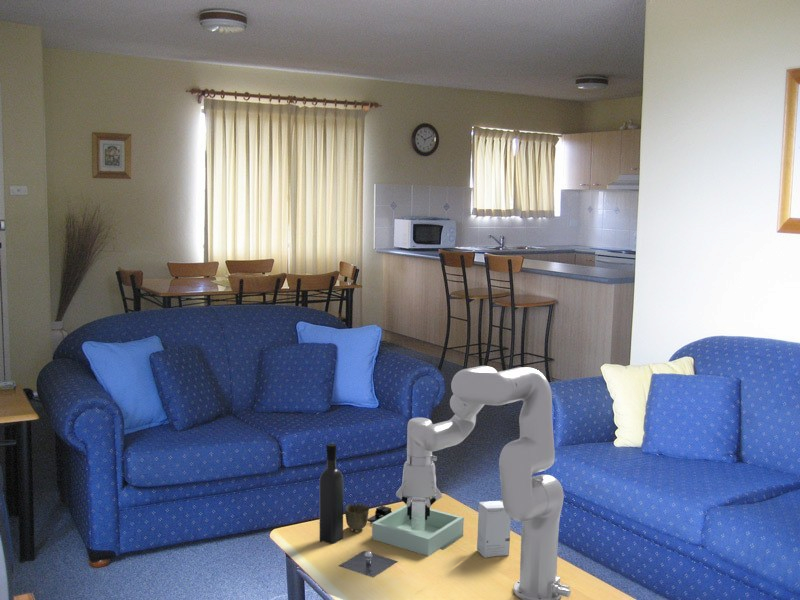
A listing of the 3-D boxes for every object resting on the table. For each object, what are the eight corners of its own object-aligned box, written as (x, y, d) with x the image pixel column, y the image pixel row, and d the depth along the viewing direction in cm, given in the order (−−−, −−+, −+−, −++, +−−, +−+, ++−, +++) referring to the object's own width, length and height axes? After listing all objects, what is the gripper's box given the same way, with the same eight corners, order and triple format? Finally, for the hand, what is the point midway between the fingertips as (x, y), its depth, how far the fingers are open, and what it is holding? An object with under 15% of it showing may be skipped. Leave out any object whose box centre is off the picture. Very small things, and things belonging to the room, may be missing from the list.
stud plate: (398, 564, 232) (398, 549, 231) (373, 580, 222) (373, 564, 221) (364, 554, 238) (364, 538, 238) (338, 569, 229) (338, 553, 228)
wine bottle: (329, 536, 250) (329, 440, 247) (344, 540, 247) (345, 444, 244) (317, 543, 245) (318, 445, 242) (333, 547, 243) (333, 448, 239)
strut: (425, 525, 251) (425, 497, 250) (424, 530, 247) (425, 502, 246) (412, 524, 251) (412, 496, 250) (411, 530, 247) (411, 501, 246)
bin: (463, 536, 252) (463, 517, 251) (428, 559, 236) (428, 539, 235) (408, 520, 263) (409, 502, 262) (371, 542, 247) (372, 522, 246)
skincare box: (484, 558, 237) (485, 509, 235) (476, 549, 242) (477, 501, 240) (510, 555, 239) (512, 506, 237) (502, 546, 245) (503, 498, 243)
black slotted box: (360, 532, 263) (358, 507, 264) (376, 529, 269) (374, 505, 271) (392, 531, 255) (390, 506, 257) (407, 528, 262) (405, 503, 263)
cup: (365, 538, 249) (365, 513, 248) (341, 536, 251) (342, 511, 250) (371, 528, 256) (371, 504, 255) (348, 526, 258) (348, 502, 257)
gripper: (447, 456, 249) (446, 514, 252) (392, 454, 250) (391, 512, 253) (447, 464, 242) (446, 524, 244) (390, 462, 243) (389, 521, 245)
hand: (418, 517), depth 248 cm, fingers closed on strut, 4 cm apart
